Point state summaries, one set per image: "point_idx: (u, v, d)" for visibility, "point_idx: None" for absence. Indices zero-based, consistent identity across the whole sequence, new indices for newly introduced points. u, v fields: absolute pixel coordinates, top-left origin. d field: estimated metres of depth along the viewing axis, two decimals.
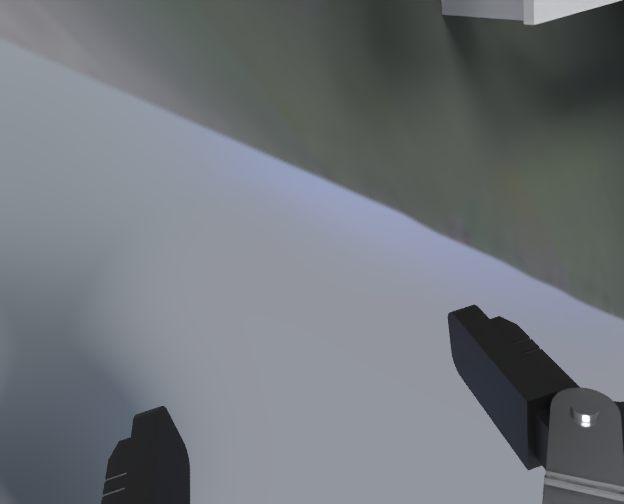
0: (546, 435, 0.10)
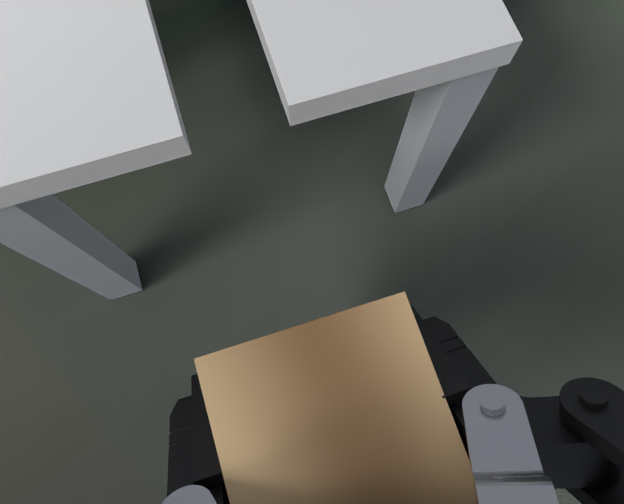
0: (461, 429, 0.11)
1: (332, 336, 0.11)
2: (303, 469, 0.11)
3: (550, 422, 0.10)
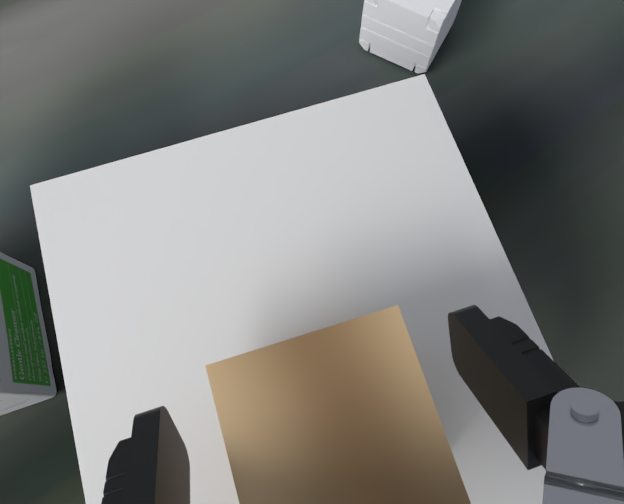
0: (546, 435, 0.10)
1: (331, 345, 0.12)
2: (304, 466, 0.12)
3: None
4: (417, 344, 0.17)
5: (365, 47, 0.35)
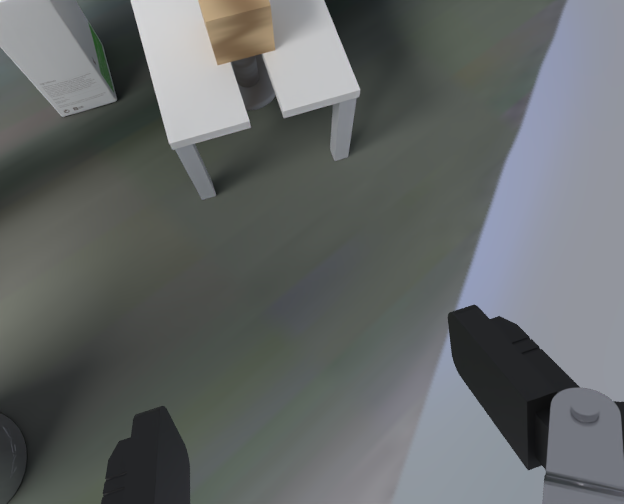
0: (546, 435, 0.10)
1: None
2: None
3: None
4: (275, 7, 0.44)
5: None
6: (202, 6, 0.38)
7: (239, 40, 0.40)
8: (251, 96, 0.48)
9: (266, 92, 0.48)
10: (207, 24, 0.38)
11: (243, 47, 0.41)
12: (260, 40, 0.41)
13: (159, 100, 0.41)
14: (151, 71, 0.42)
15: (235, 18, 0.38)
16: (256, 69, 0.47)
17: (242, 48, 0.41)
